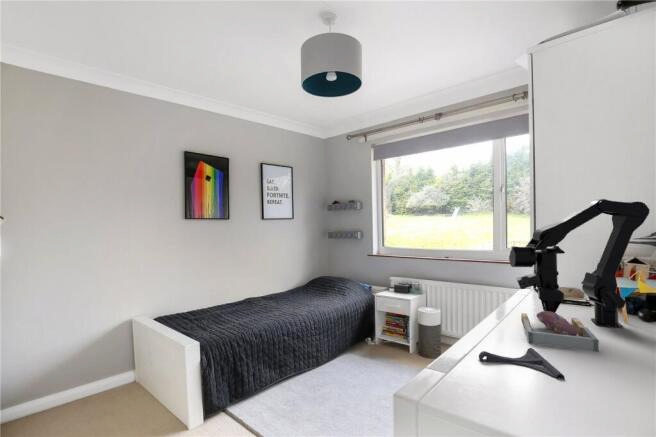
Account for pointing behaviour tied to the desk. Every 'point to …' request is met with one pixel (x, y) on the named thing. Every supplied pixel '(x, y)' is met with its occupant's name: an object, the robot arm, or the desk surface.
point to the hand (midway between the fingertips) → (547, 315)
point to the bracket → (524, 362)
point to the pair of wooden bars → (575, 323)
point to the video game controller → (556, 322)
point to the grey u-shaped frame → (563, 339)
